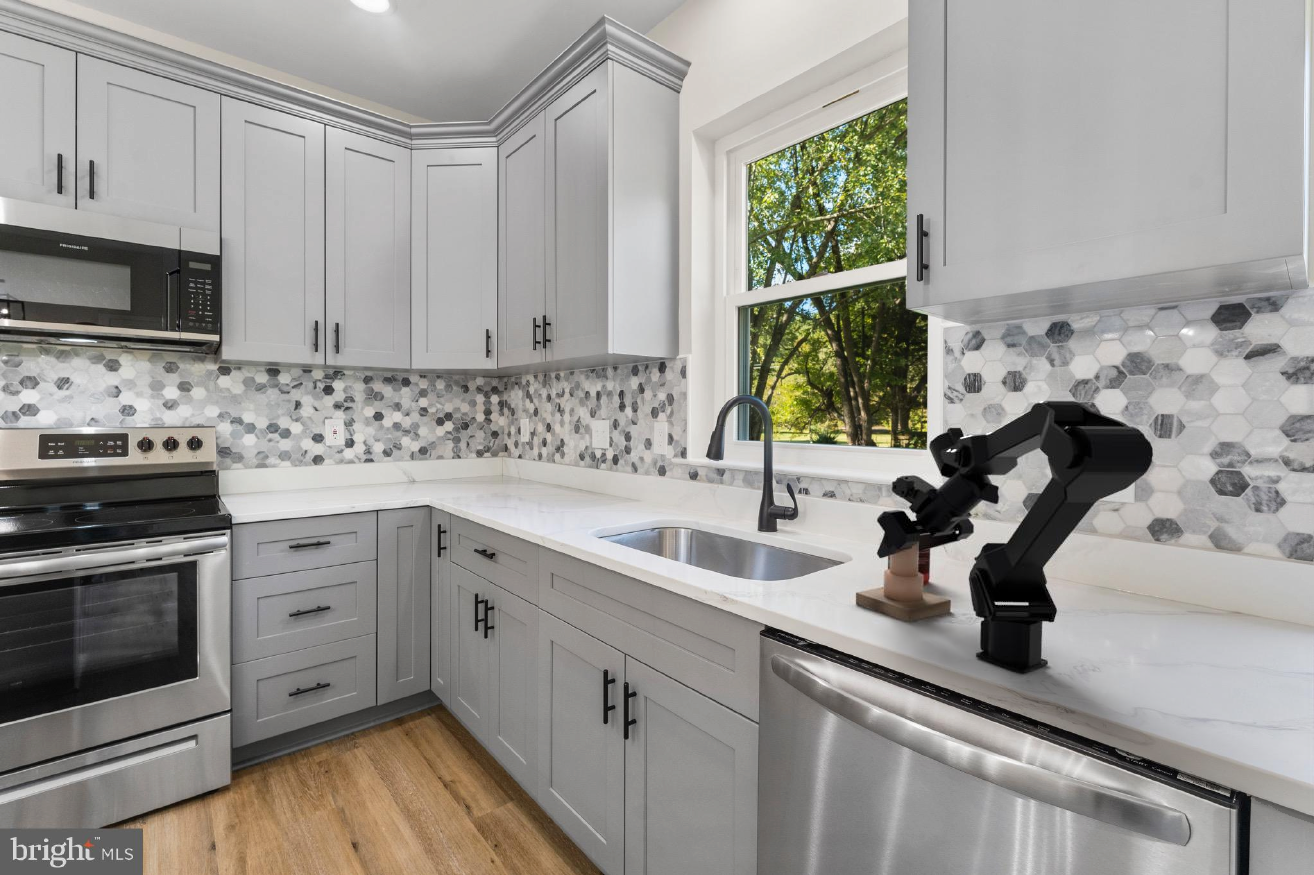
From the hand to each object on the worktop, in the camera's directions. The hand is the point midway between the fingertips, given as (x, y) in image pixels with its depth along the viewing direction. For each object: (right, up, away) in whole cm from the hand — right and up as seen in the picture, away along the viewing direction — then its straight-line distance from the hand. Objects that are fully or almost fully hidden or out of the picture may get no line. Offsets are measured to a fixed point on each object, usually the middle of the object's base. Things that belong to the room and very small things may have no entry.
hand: (896, 553), depth 107 cm
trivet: (+1, -9, -1) cm, 9 cm away
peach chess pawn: (+1, -7, -1) cm, 7 cm away
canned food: (+9, -9, +17) cm, 21 cm away
